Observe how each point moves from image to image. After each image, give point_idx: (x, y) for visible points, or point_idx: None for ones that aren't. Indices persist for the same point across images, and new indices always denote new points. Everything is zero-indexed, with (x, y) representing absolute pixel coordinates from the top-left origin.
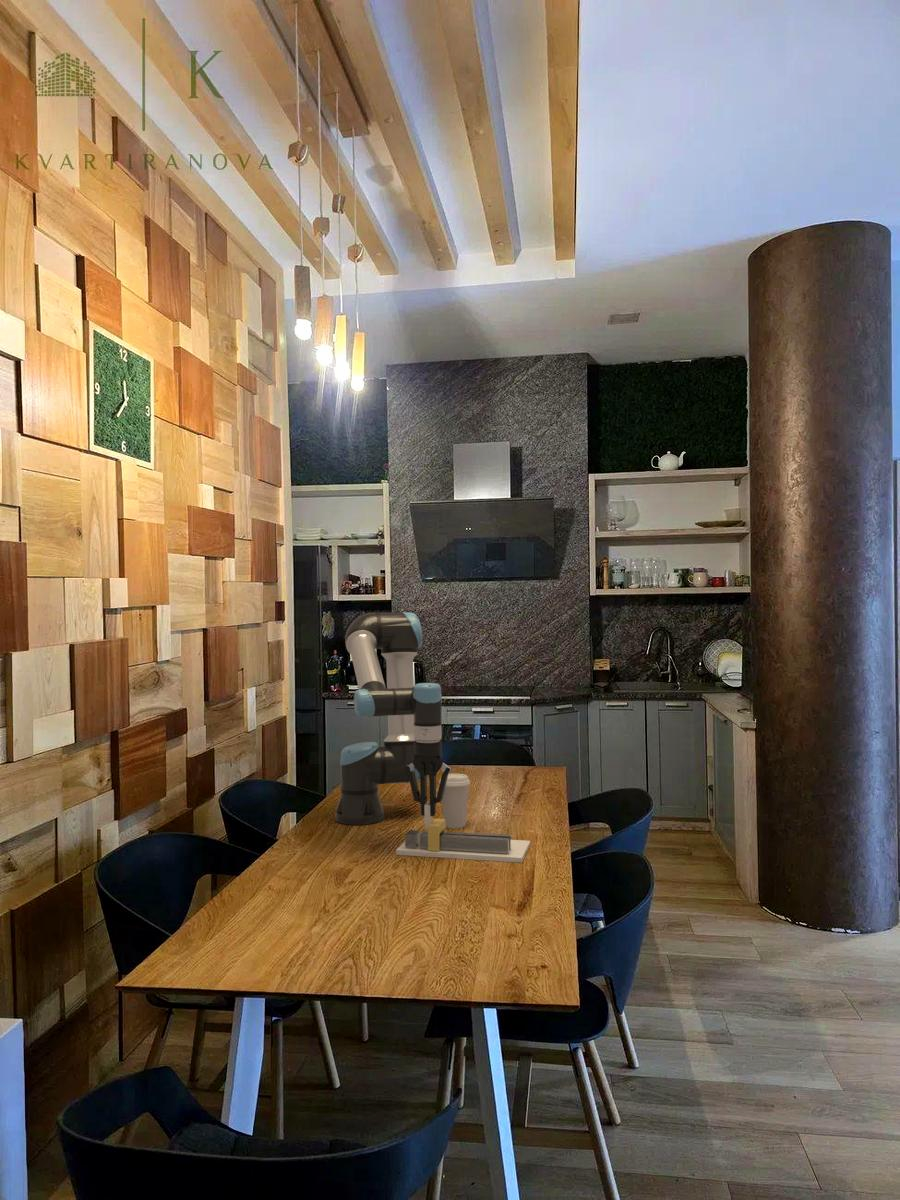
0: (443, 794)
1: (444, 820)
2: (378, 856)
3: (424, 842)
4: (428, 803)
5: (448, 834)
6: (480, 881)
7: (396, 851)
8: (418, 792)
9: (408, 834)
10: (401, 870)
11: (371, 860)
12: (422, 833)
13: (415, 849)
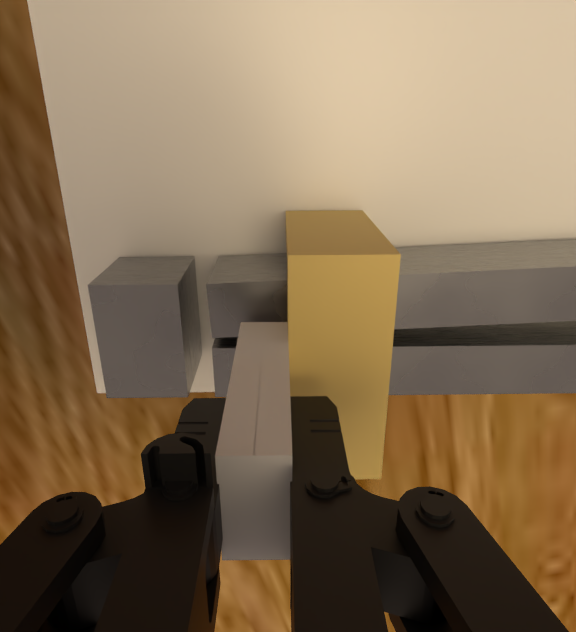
0: (517, 577)
1: (396, 286)
2: (29, 420)
3: None
4: (252, 497)
5: (419, 326)
6: (572, 607)
7: (103, 389)
8: (35, 618)
9: (131, 396)
10: (227, 563)
11: (29, 479)
12: (223, 356)
13: (203, 358)
